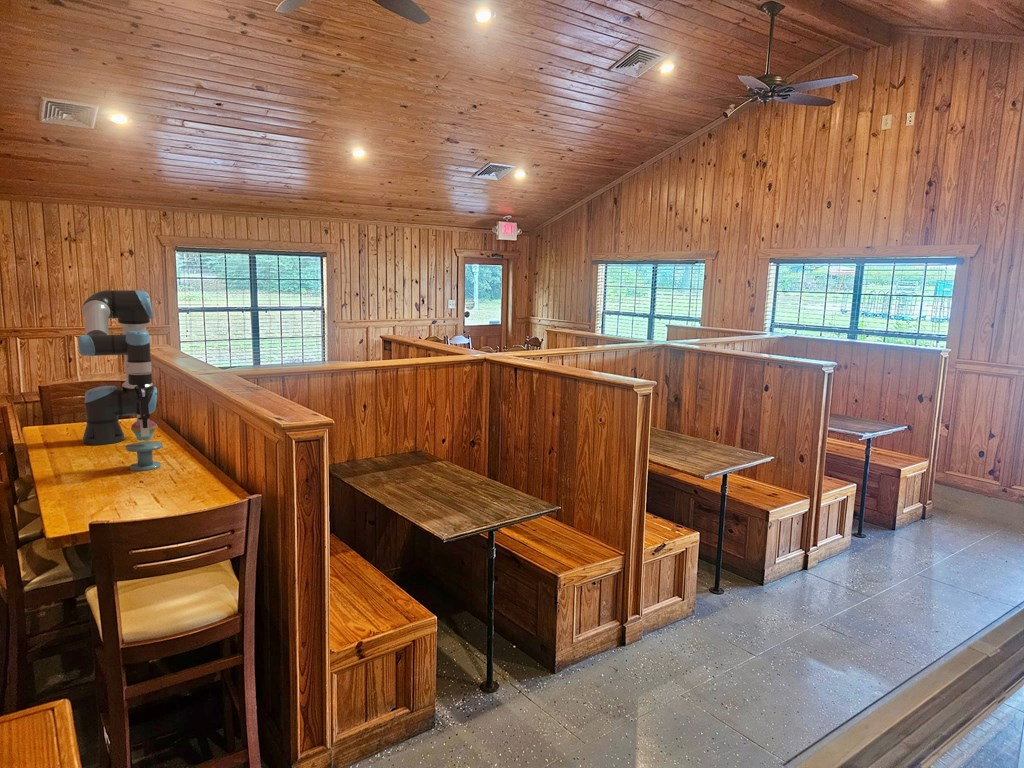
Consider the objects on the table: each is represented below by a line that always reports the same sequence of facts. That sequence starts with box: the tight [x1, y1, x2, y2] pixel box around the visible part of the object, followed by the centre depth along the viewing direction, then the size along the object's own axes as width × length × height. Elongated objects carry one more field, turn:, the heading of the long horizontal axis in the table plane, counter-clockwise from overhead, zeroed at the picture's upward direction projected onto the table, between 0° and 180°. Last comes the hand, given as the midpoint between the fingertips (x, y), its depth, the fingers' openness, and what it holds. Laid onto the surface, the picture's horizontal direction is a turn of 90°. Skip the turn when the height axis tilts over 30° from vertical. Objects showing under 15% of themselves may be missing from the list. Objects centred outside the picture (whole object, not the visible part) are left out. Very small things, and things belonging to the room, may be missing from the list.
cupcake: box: [130, 419, 158, 441], centre depth 240 cm, size 9×8×12 cm
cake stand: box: [125, 440, 164, 472], centre depth 242 cm, size 12×12×8 cm
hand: (143, 433), depth 240 cm, fingers closed on cupcake, 8 cm apart
